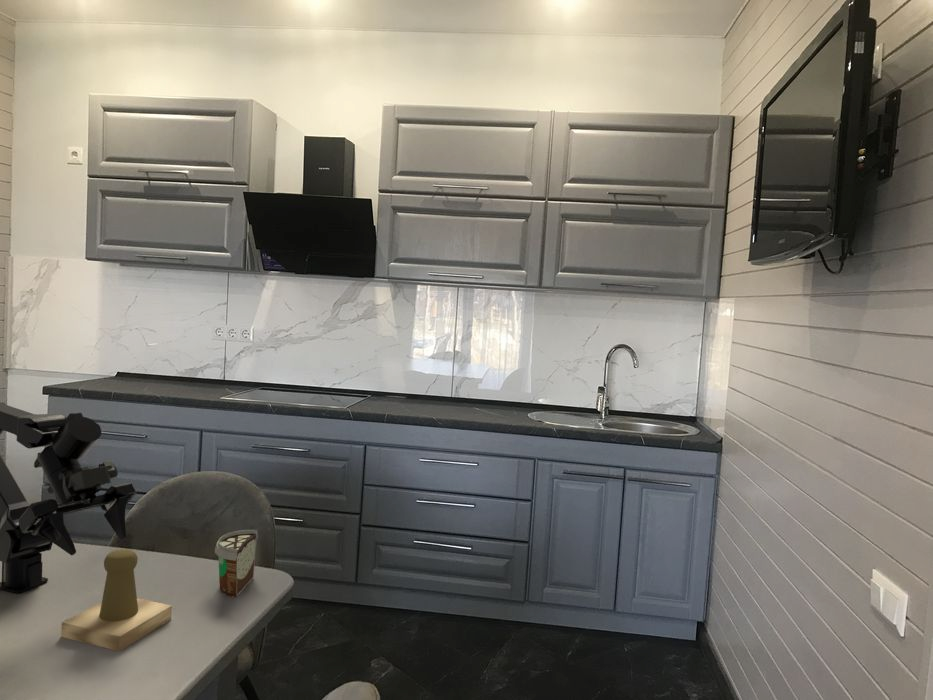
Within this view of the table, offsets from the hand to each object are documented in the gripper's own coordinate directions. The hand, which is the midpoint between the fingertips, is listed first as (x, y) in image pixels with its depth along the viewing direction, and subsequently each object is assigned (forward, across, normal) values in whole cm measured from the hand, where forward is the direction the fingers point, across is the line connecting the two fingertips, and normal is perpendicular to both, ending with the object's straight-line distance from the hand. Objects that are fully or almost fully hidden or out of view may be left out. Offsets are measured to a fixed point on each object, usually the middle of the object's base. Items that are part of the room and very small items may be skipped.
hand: (99, 546), depth 116 cm
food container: (+15, +23, +4) cm, 28 cm away
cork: (+12, 0, +4) cm, 12 cm away
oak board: (+14, 0, +5) cm, 14 cm away
